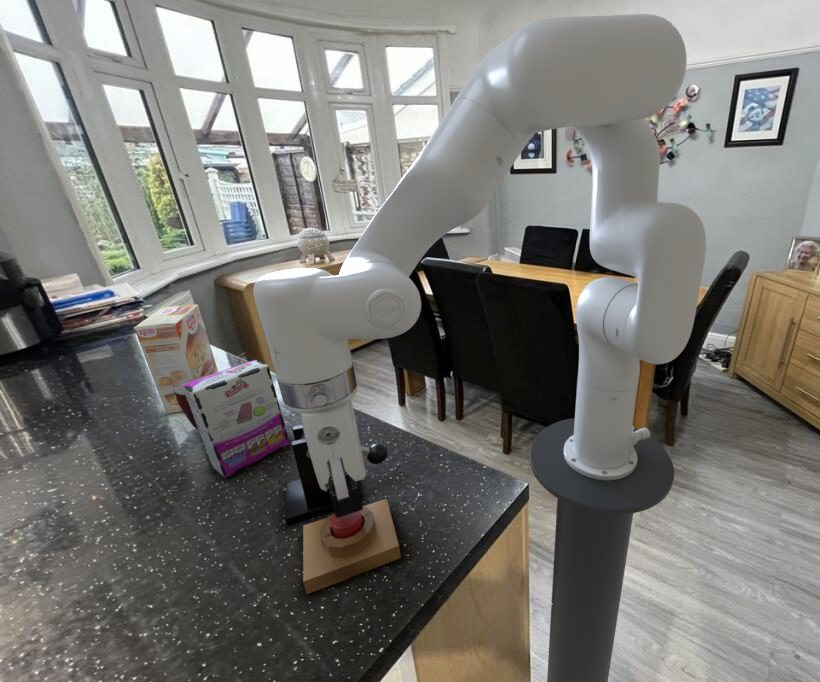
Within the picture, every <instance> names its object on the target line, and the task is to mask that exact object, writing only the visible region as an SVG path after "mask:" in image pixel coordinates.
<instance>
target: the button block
mask: <svg viewBox="0 0 820 682" xmlns="http://www.w3.org/2000/svg"><path fill="white" fill-rule="evenodd" d="M362 506H363V508H362V510H360V512H361V516H362V521H363V525H362V528H361V529H360V531H359V532H358V533H356V534H355V535H354V536H351V537H348V538H344V539H341V538H337V537H336V536H335V535H334V534H333V530H332V526H331V519H332V517H333V515H334V514H335V512H333V513H332V514H331V515H330V516H328V517H324V518H322V519H319V520H316V521H313V522H310V523H307V524H304V525H303V526H302V535H303V536H302V582H303V586H304V590H305V593H306V595H309V594H311V593H314V592H316V591H319V590H321V589H324V588H327V587H330V586H332V585H334V584H335V585H336V584H337V583H340V582H343V581H345V580H348V579H350V578H353V577H355V576H358V575H360V574H363V573H366V572H369V571H371V570H374V569H376V568H379V567H381V566H384V565H386V564H389V563H391V562H394V561H397V560H399V559H401V558H402V556H401V555H402V554H401V550H400V543H399V540H398V537H397V532H396V528H395V525H394V521H393V517H392V513H391V510H390V506H389V502H388V499H387V498H384V499H382V500H378V501H375V502H372V503H369V504H366V505H362Z"/></svg>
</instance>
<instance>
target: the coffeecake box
mask: <svg viewBox="0 0 820 682" xmlns="http://www.w3.org/2000/svg"><path fill="white" fill-rule="evenodd" d="M133 330H134V332H135V334H136V338H137V340H138V342H139V346H140V349H141V351H142V353H143V356H144V359H145V361H146V364H147V366H148V369H149V372H150V374H151V377H152V380H153V382H154V385H155V389H156V392H157V393H158V395H159V399H160V401H161V404H162V406H163V409H164V413H165V414H166V415H168V414H173V413H179V412H183V410H182V409H181V407H180V406H179V404H178V402H177V399H176V396H175V393H174V390H175V388H176V387H177V386H179V385H180V384H182V383H184V382H186V381H188V380H191V379H194V378H198V377H202V376H208V375H212V374H215V373H218V372H219V369H218V366H217V362H216V360H215V356H214V353H213V350H212V347H211V343H210V340H209V336H208V334H207V330H206V326H205V322H204V320H203V317H202V314H201V310H200V306H199V304H197V303H196V304H184V305H182V304H181V305H175V306H174V305H173V306H162V307H161V308H160V309H158V310H157V311H155V312H154V313H153V314H151V315H150V316H148V317H147V318H145V319H144V320H142V321H141V322H140V323H138V324H137V325H135V326H134V327H133Z"/></svg>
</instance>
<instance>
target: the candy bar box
mask: <svg viewBox="0 0 820 682" xmlns="http://www.w3.org/2000/svg"><path fill="white" fill-rule="evenodd" d="M182 387H183V390H184V393H185V395H186V398H187V400H188V403H189V405H190V408H191V411H192V413H193V416H194V419H195V421H196V424H197V427H198V429H199V430H198V429H197V430H198V432H199V435H200V437H201V439H202V442H203V445H204V448H205V450H206V453H207V455H208V458H209V461H210V464H211V466H212V469H214V470H215V471H216V472H218V473H219V474H220V475H221V476H222V477H224V478H225V479H226V478H229V477H231V476H233V475H235V474H237V473H238V472H240V471H242V470H244V469H246V468H248V467H249V466H252V465H253V464H255V463H257V462H259V461H262V460H263V459H264V458H266V457H268V456H270V455H272V454H273V453H275V452H277V451H279V450H282V449H283V448H285V447H287V446H289V445H290V444H291V442H290V437H289V434H288V431H287V427H286V423H285V420H284V417H283V413H282V409H281V406H280V403H279V398H278V394H277V392H276V388H275V384H274V381H273V378H272V372H271V369H270V367H269V365H268V364H265V363H263V362H261V361H259V360H257V359H253V360H250V361H247V362H244V363H241V364H239V365H235V366H232V367H230V368H227V369H223V370H220V371H218V373H215V374H212V375H209V376H206V377H203V378H200V379H198V380H195V381H192V382H189V383H186V384H183V385H182Z"/></svg>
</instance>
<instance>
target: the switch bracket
mask: <svg viewBox="0 0 820 682" xmlns="http://www.w3.org/2000/svg"><path fill="white" fill-rule="evenodd" d="M291 429H292V434H293V438H294V440H293V441H291V448H292V453H293V456H294V460H295V464H296V468H297V472H298V476H299V479H296V480H293V481H290V482H287V483H286V490H285V491H286V494H285V511H284V513H285V514H284V520H285V524H286V526H290V525H292V524H295V523H298V522H302V521H305V520H308V519H311V518H314V517H318V516H321V515H324V514H327V513H331V512H334V508H333V504H332V500H331V496H330V488H328V489H327V491H324V490H322V489H321V488H320V486H319V483H318V480H317V477H316V474H315V470H314V467H313V464H312V460H311V457H310V453H309V450H308V446H307V442H306V438H305V439H301V436H302V434H303V432H304V431H303V427H302V424H299V425H295V426H292V428H291ZM300 439H301V440H300Z"/></svg>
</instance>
